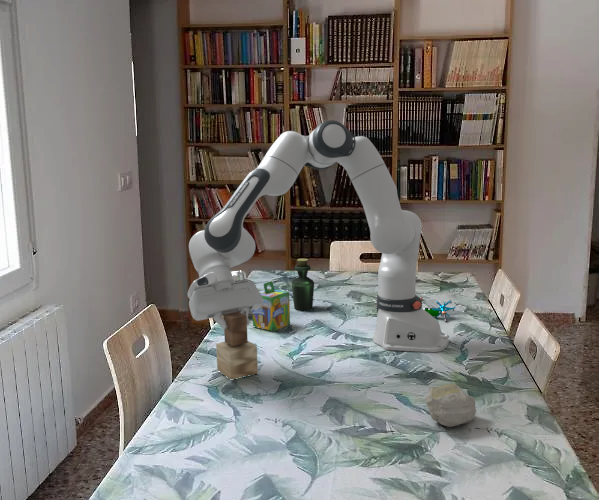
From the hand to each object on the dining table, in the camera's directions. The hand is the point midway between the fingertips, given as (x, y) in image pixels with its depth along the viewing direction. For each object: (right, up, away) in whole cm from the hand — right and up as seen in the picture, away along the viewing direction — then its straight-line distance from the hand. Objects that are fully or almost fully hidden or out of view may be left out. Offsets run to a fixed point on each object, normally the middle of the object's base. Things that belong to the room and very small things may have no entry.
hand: (236, 326), depth 177 cm
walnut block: (0, -4, +2) cm, 5 cm away
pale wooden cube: (0, -13, +3) cm, 13 cm away
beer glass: (-5, -2, +57) cm, 57 cm away
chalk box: (+7, -5, +43) cm, 44 cm away
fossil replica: (+51, -18, -28) cm, 61 cm away
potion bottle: (+18, -1, +62) cm, 64 cm away
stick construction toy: (+63, -3, +46) cm, 78 cm away
